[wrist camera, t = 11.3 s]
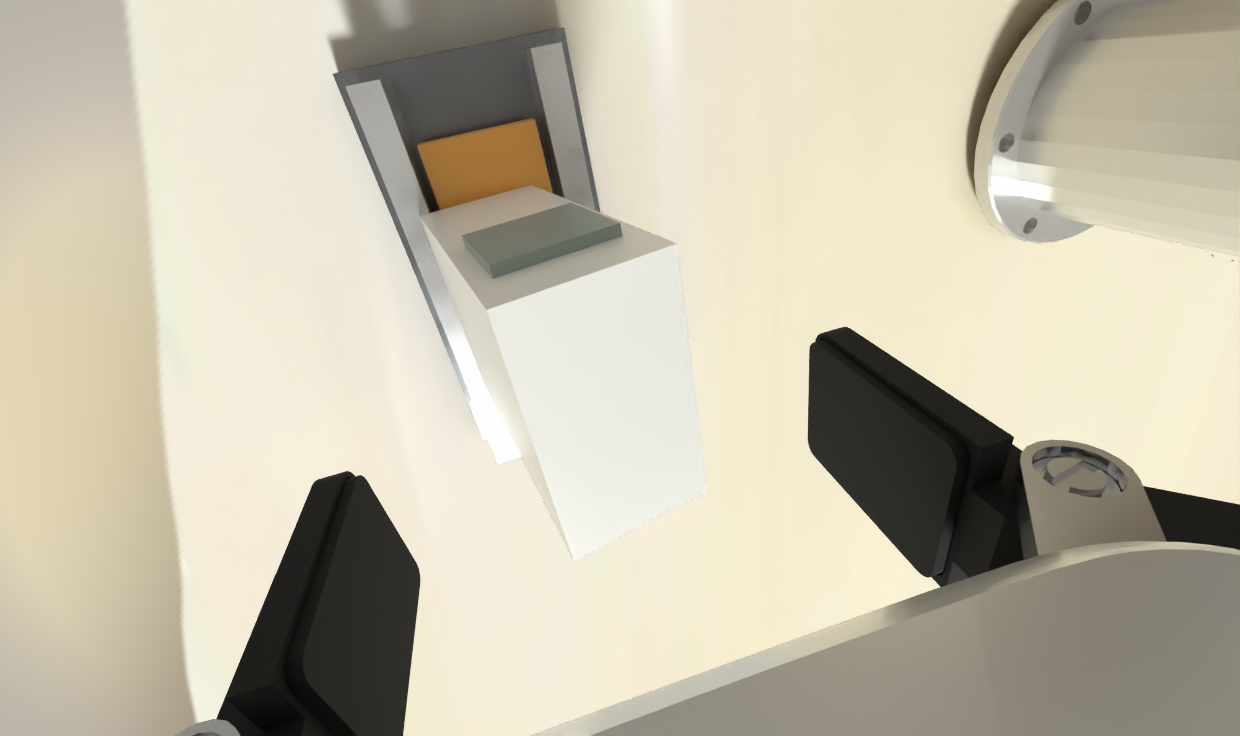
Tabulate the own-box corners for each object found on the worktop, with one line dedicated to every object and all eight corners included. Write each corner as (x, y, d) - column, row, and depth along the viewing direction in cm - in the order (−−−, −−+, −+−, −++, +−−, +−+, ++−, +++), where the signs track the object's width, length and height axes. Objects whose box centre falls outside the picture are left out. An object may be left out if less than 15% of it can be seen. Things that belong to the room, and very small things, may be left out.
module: (528, 176, 18) (675, 229, 10) (574, 351, 22) (707, 491, 14) (416, 206, 17) (480, 294, 9) (484, 386, 21) (573, 561, 13)
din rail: (559, 30, 19) (579, 18, 16) (630, 383, 27) (653, 422, 24) (338, 74, 18) (312, 72, 15) (482, 428, 26) (486, 476, 23)
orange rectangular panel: (531, 118, 18) (535, 119, 17) (594, 374, 24) (598, 384, 23) (419, 143, 18) (417, 146, 17) (510, 399, 23) (512, 411, 22)
